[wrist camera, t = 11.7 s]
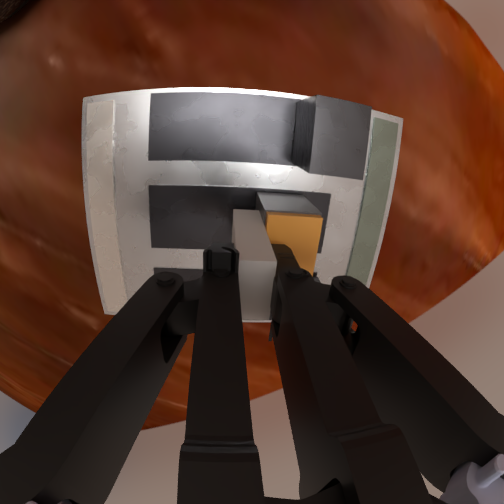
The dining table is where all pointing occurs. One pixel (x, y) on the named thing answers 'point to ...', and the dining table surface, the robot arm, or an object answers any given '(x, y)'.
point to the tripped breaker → (292, 224)
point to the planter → (10, 8)
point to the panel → (228, 177)
